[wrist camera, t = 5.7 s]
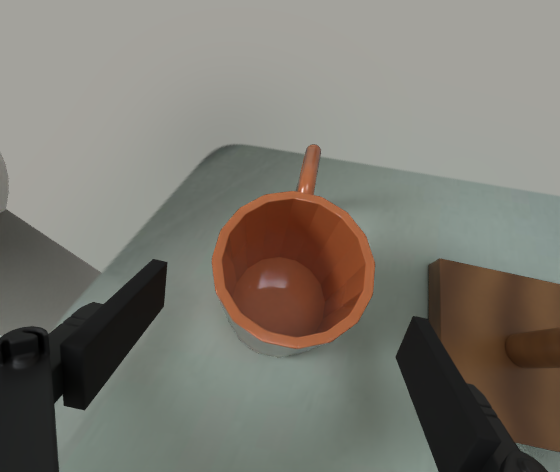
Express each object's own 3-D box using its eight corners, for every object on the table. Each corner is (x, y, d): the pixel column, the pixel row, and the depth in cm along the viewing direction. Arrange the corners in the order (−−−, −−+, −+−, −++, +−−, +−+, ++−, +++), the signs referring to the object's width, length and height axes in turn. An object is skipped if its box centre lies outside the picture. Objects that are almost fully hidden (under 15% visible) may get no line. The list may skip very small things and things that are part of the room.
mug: (321, 367, 23) (368, 364, 14) (214, 344, 23) (191, 326, 14) (341, 214, 28) (384, 138, 19) (254, 195, 28) (256, 111, 19)
